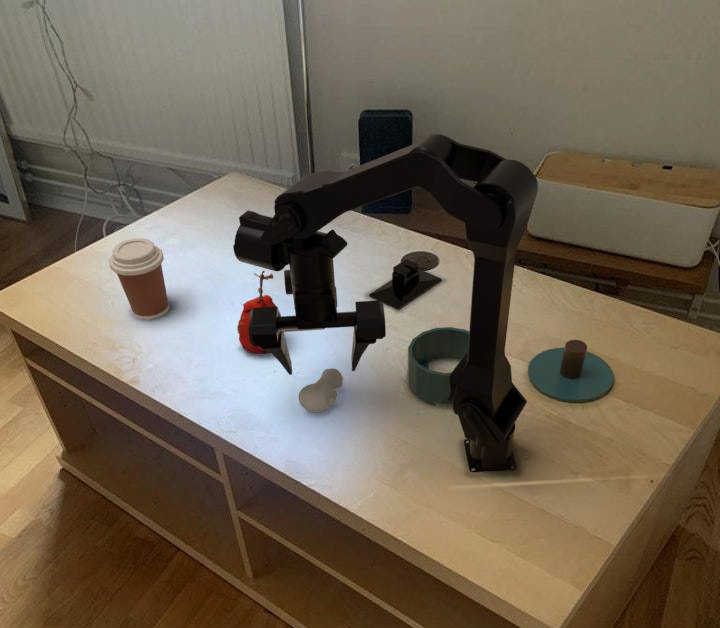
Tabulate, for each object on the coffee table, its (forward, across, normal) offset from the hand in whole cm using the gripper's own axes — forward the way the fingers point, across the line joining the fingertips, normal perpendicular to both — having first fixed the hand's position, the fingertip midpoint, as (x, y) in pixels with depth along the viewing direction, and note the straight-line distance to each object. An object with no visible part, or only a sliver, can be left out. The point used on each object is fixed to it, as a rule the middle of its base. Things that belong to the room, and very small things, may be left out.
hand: (322, 371), depth 106 cm
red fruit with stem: (+6, +10, -15) cm, 19 cm away
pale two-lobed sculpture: (+6, 0, 0) cm, 6 cm away
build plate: (+6, -15, -30) cm, 34 cm away
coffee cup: (+6, +31, -28) cm, 42 cm away
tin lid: (+5, -38, -2) cm, 38 cm away
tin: (+6, -19, -3) cm, 20 cm away
